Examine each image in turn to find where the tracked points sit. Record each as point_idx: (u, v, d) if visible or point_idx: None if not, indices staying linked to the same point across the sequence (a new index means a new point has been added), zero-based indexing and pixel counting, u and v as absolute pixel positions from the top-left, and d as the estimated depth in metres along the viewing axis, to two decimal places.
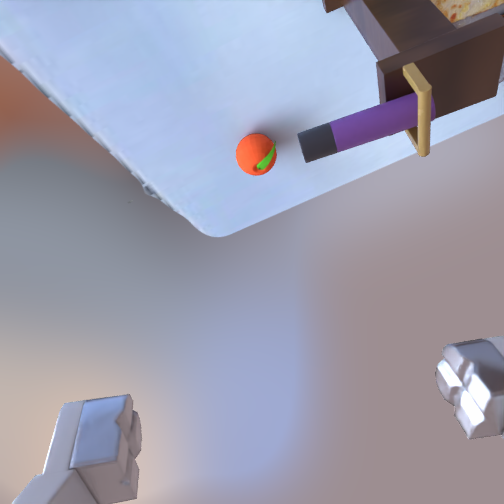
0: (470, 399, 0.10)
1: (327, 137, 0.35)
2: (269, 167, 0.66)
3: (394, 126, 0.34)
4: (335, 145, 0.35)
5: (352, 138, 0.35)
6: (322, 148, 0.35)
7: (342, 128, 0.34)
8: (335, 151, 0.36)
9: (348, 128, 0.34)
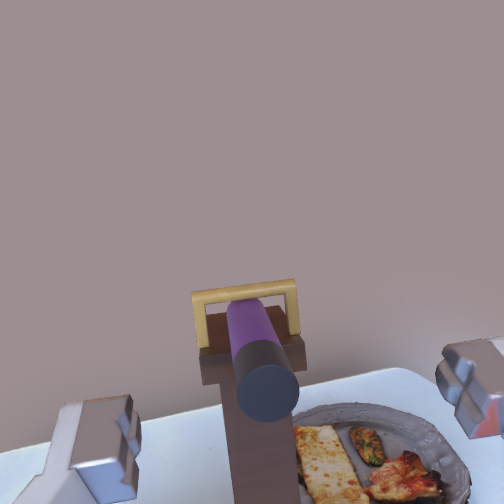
0: (470, 399, 0.10)
1: (238, 355, 0.20)
2: None
3: (245, 309, 0.25)
4: (252, 341, 0.20)
5: (247, 331, 0.22)
6: (252, 351, 0.19)
7: (234, 349, 0.21)
8: (266, 340, 0.20)
9: (235, 343, 0.21)
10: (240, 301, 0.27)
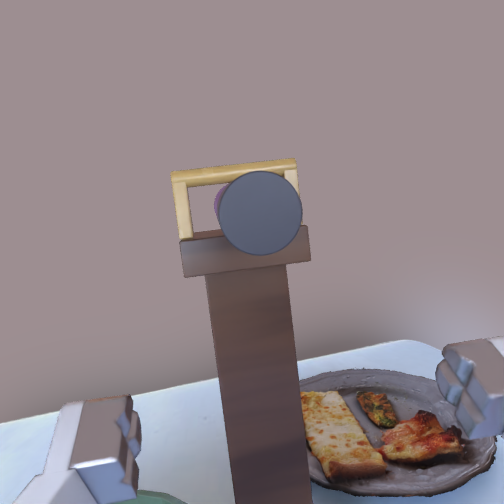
0: (470, 399, 0.10)
1: (222, 191, 0.15)
2: None
3: None
4: None
5: None
6: None
7: (218, 198, 0.17)
8: None
9: None
10: None
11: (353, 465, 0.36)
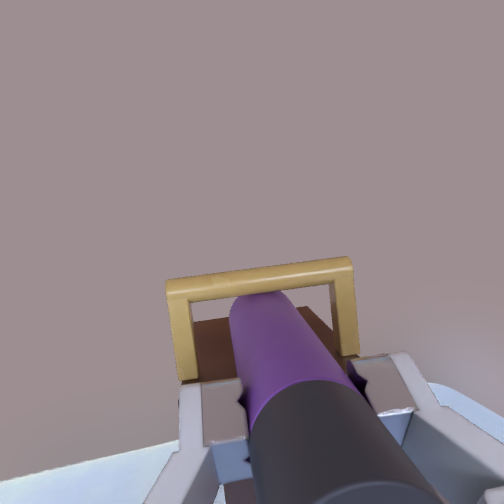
0: None
1: (263, 424, 0.08)
2: None
3: (265, 310, 0.13)
4: (296, 385, 0.08)
5: (277, 356, 0.10)
6: (302, 418, 0.07)
7: (248, 400, 0.09)
8: (332, 383, 0.08)
9: (249, 384, 0.10)
10: (254, 296, 0.15)
11: None
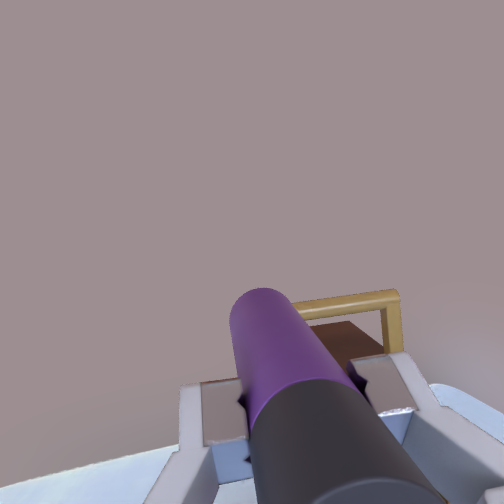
0: None
1: (264, 424, 0.08)
2: None
3: (266, 311, 0.13)
4: (296, 385, 0.08)
5: (277, 356, 0.10)
6: (302, 417, 0.07)
7: (249, 400, 0.09)
8: (332, 383, 0.08)
9: (250, 384, 0.10)
10: (254, 298, 0.15)
11: None
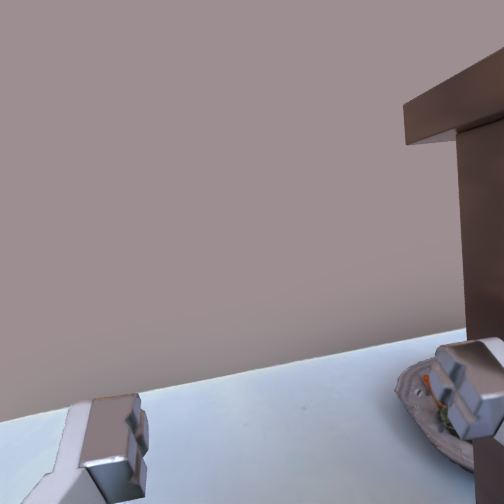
0: (463, 400, 0.10)
1: None
2: None
3: None
4: None
5: None
6: None
7: None
8: None
9: None
10: None
11: None
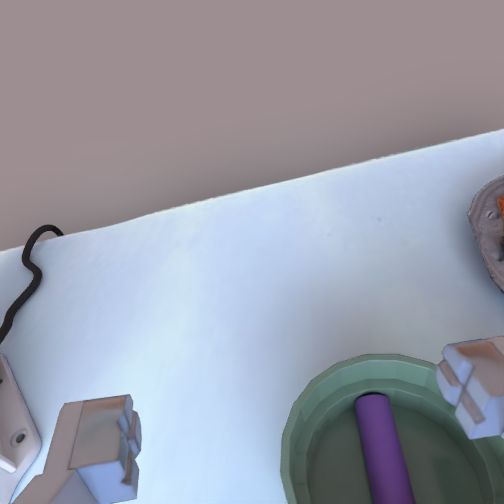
0: (470, 399, 0.10)
1: None
2: None
3: (379, 439, 0.29)
4: None
5: (388, 496, 0.26)
6: None
7: None
8: None
9: (377, 501, 0.27)
10: (371, 412, 0.30)
11: None
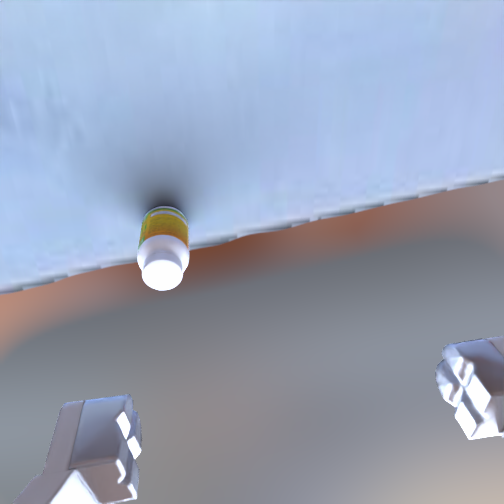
0: (470, 399, 0.10)
1: None
2: None
3: None
4: None
5: None
6: None
7: None
8: None
9: None
10: None
11: None
